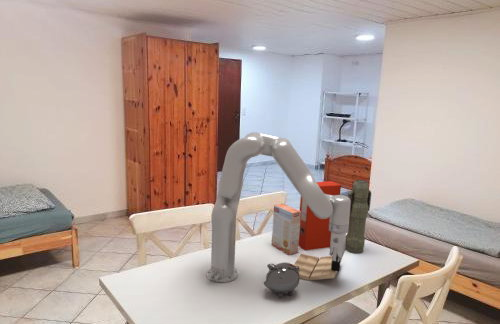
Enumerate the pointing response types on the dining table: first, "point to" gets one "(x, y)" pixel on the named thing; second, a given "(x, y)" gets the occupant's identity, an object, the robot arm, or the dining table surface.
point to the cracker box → (286, 228)
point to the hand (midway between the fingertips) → (335, 269)
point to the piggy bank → (282, 278)
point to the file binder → (316, 222)
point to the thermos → (358, 216)
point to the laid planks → (306, 265)
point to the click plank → (323, 269)
